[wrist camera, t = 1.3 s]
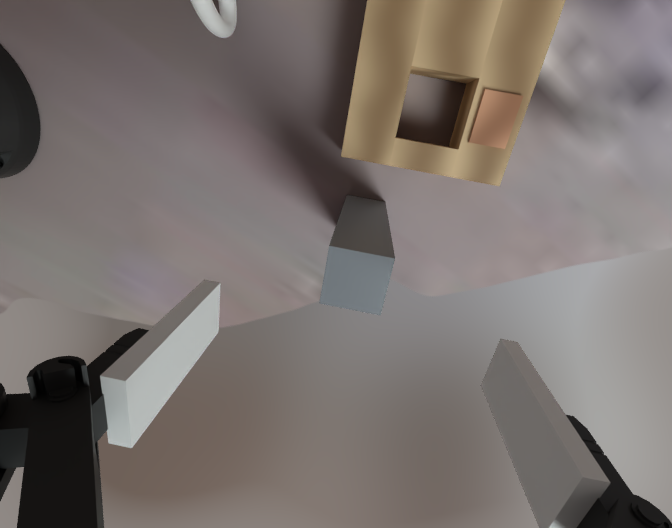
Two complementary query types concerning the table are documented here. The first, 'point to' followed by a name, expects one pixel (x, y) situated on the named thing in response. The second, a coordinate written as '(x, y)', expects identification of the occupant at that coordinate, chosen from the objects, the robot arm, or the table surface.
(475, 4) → the port block
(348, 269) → the plug
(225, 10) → the mug
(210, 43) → the table surface
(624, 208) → the table surface
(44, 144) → the table surface
